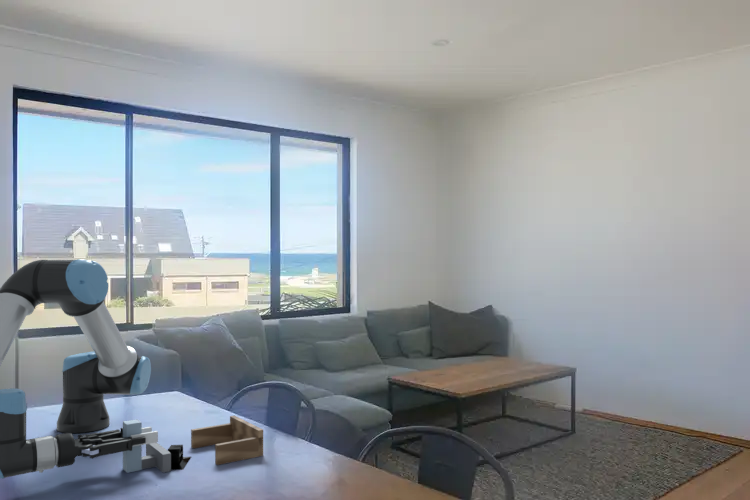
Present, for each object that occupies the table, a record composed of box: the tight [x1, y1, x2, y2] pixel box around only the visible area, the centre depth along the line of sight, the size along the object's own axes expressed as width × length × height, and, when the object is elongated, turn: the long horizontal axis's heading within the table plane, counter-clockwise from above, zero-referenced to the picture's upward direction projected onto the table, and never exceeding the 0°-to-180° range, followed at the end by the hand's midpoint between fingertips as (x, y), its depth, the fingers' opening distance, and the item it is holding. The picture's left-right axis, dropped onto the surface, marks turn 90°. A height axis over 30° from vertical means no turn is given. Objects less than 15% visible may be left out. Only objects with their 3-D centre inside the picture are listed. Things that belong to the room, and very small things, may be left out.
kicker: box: [122, 419, 172, 474], centre depth 166 cm, size 14×9×12 cm, turn 36°
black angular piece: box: [167, 444, 192, 471], centre depth 169 cm, size 13×8×5 cm, turn 5°
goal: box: [190, 415, 264, 466], centre depth 179 cm, size 19×13×7 cm
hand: (154, 434), depth 168 cm, fingers open, 4 cm apart
